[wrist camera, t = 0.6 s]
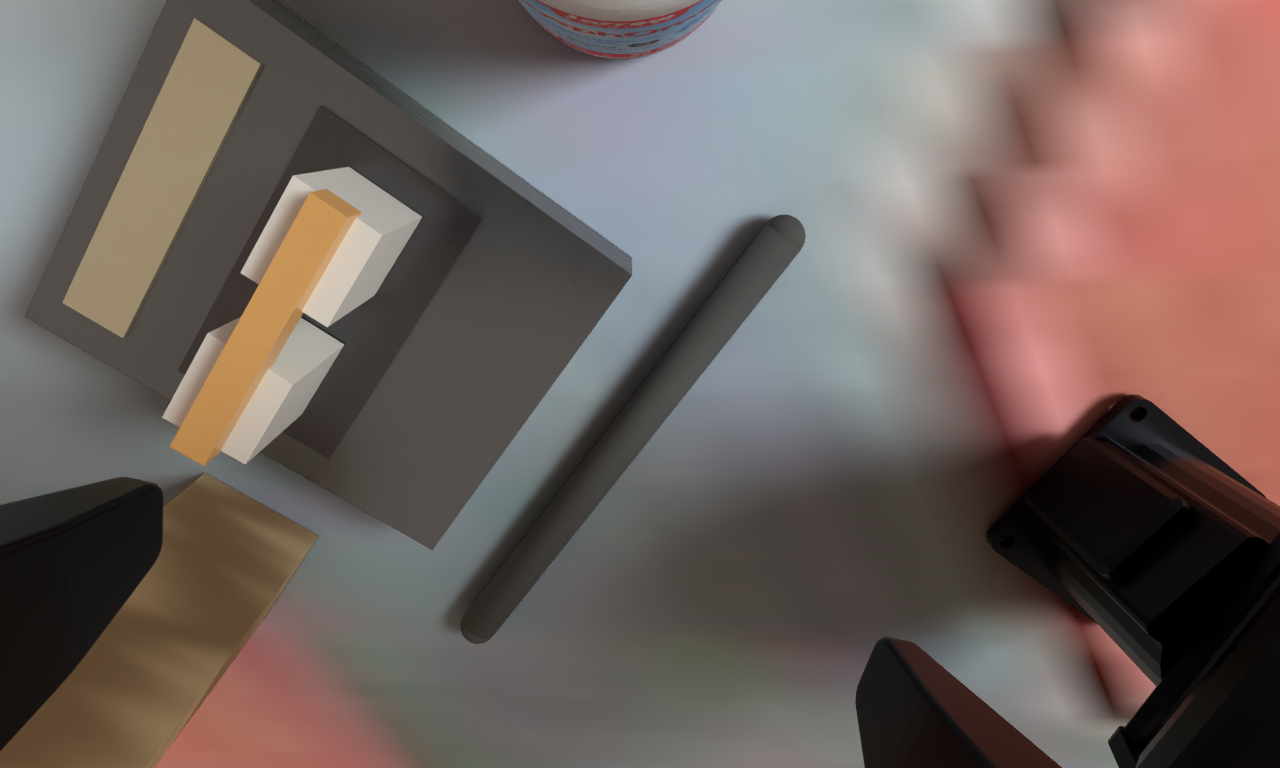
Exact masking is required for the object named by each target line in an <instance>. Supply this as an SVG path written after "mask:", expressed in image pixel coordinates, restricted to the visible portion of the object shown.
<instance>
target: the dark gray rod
mask: <svg viewBox="0 0 1280 768" xmlns="http://www.w3.org/2000/svg"><path fill="white" fill-rule="evenodd" d="M804 242H805V230H804V227H803V225H802V224H801V222H800V221H799V220H798V219H796V218H794V217H792V216H790V215H779V216H776V217H774V218H772V219H771V220H769V221H768V222H767V223H766V224H765V226H764V227H763V228H762V230H761V231H760V232H759V234H758V235H757V236H756V237H755V239H754V240H753V241H752V243H751V244H750V245H749V247H748V248H747V249H746V250H745V252H744V253H743V254H742V256H741V257H740V258H739V259H738V261H737V262H736V263H735V265H734V266H733V267H732V269H731V270H730V271H729V272H728V274H727V275H726V276H725V278H724V279H723V280H722V281H721V283H720V284H719V285H718V287H717V288H716V289H715V291H714V292H713V293H712V294H711V296H710V297H709V298H708V300H707V301H706V302H705V304H704V305H703V306H702V307H701V309H700V310H699V311H698V313H697V314H696V315H695V316H694V318H693V319H692V320H691V322H690V323H689V324H688V326H687V327H686V328H685V329H684V331H683V332H682V333H681V335H680V336H679V337H678V339H677V340H676V341H675V342H674V344H673V345H672V346H671V348H670V349H669V350H668V351H667V353H666V354H665V355H664V357H663V358H662V359H661V361H660V362H659V363H658V364H657V366H656V367H655V368H654V370H653V371H652V372H651V374H650V375H649V376H648V377H647V379H646V380H645V381H644V383H643V384H642V385H641V386H640V388H639V389H638V390H637V392H636V393H635V394H634V396H633V397H632V398H631V399H630V401H629V402H628V403H627V405H626V406H625V407H624V409H623V410H622V411H621V412H620V414H619V415H618V416H617V418H616V419H615V420H614V421H613V423H612V424H611V425H610V427H609V428H608V429H607V431H606V432H605V433H604V434H603V436H602V437H601V438H600V440H599V441H598V442H597V443H596V445H595V446H594V447H593V449H592V450H591V451H590V453H589V454H588V455H587V456H586V458H585V459H584V460H583V462H582V463H581V464H580V466H579V467H578V468H577V469H576V471H575V472H574V473H573V475H572V476H571V477H570V478H569V480H568V481H567V482H566V484H565V485H564V486H563V488H562V489H561V490H560V491H559V493H558V494H557V495H556V497H555V498H554V499H553V501H552V502H551V503H550V504H549V506H548V507H547V508H546V510H545V511H544V512H543V513H542V515H541V516H540V517H539V519H538V520H537V521H536V523H535V524H534V525H533V526H532V528H531V529H530V530H529V532H528V533H527V534H526V536H525V537H524V538H523V539H522V541H521V542H520V543H519V545H518V546H517V547H516V548H515V550H514V551H513V552H512V554H511V555H510V556H509V558H508V559H507V560H506V561H505V563H504V564H503V565H502V567H501V568H500V569H499V570H498V572H497V573H496V574H495V576H494V577H493V578H492V580H491V581H490V582H489V583H488V585H487V586H486V587H485V589H484V590H483V591H482V593H481V594H480V595H479V596H478V598H477V599H476V600H475V602H474V603H473V604H472V605H471V607H470V608H469V609H468V611H467V612H466V613H465V615H464V616H463V618H462V621H461V631H462V634H463V636H464V637H465V638H466V639H467V640H468V641H469V642H471V643H475V644H480V643H484V642H486V641H488V640H489V639H490V638H491V637H492V636H493V635H494V634H495V633H496V631H497V630H498V629H499V628H500V626H501V625H502V624H503V623H504V621H505V620H506V619H507V618H508V616H509V615H510V614H511V613H512V611H513V610H514V609H515V608H516V606H517V605H518V604H519V603H520V601H521V600H522V599H523V598H524V596H525V595H526V594H527V593H528V591H529V590H530V589H531V588H532V586H533V585H534V584H535V583H536V581H537V580H538V579H539V577H540V576H541V575H542V574H543V572H544V571H545V570H546V569H547V567H548V566H549V565H550V564H551V562H552V561H553V560H554V559H555V557H556V556H557V555H558V554H559V552H560V551H561V550H562V549H563V547H564V546H565V545H566V544H567V542H568V541H569V540H570V539H571V537H572V536H573V535H574V534H575V532H576V531H577V530H578V529H579V527H580V526H581V525H582V524H583V522H584V521H585V520H586V519H587V517H588V516H589V515H590V514H591V512H592V511H593V510H594V509H595V507H596V506H597V505H598V503H599V502H600V501H601V500H602V498H603V497H604V496H605V495H606V493H607V492H608V491H609V490H610V488H611V487H612V486H613V485H614V483H615V482H616V481H617V480H618V478H619V477H620V476H621V475H622V473H623V472H624V471H625V470H626V468H627V467H628V466H629V465H630V463H631V462H632V461H633V460H634V458H635V457H636V456H637V455H638V453H639V452H640V451H641V450H642V448H643V447H644V446H645V445H646V443H647V442H648V441H649V440H650V438H651V437H652V436H653V434H654V433H655V432H656V431H657V429H658V428H659V427H660V426H661V424H662V423H663V422H664V421H665V419H666V418H667V417H668V416H669V414H670V413H671V412H672V411H673V409H674V408H675V407H676V406H677V404H678V403H679V402H680V401H681V399H682V398H683V397H684V396H685V394H686V393H687V392H688V391H689V389H690V388H691V387H692V386H693V384H694V383H695V382H696V381H697V379H698V378H699V377H700V376H701V374H702V373H703V372H704V371H705V369H706V368H707V367H708V366H709V364H710V363H711V362H712V360H713V359H714V358H715V357H716V355H717V354H718V353H719V352H720V350H721V349H722V348H723V347H724V345H725V344H726V343H727V342H728V340H729V339H730V338H731V337H732V335H733V334H734V333H735V332H736V330H737V329H738V328H739V327H740V325H741V324H742V323H743V322H744V320H745V319H746V318H747V317H748V315H749V314H750V313H751V312H752V310H753V309H754V308H755V307H756V305H757V304H758V303H759V302H760V300H761V299H762V298H763V297H764V295H765V294H766V293H767V291H768V290H769V289H770V288H771V286H772V285H773V284H774V283H775V281H776V280H777V279H778V278H779V276H780V275H781V274H782V273H783V271H784V270H785V269H786V268H787V266H788V265H789V264H790V263H791V261H792V260H793V259H794V258H795V256H796V255H797V254H798V253H799V251H800V250H801V248H802V247H803V245H804Z"/></svg>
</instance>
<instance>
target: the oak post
mask: <svg viewBox="0 0 1280 768" xmlns="http://www.w3.org/2000/svg"><path fill="white" fill-rule="evenodd" d="M318 537H319V536H318V535H317V534H315V533H313V532H311V531H309V530H308V529H306V528H304V527H302V526H300V525H299V524H297V523H295V522H293V521H291V520H290V519H288V518H286V517H284V516H282V515H281V514H279V513H277V512H275V511H273V510H272V509H270V508H268V507H266V506H264V505H263V504H261V503H259V502H257V501H255V500H254V499H252V498H250V497H248V496H246V495H245V494H243V493H241V492H239V491H237V490H236V489H234V488H232V487H230V486H228V485H227V484H225V483H223V482H221V481H219V480H218V479H216V478H214V477H212V476H210V475H209V474H207V473H204V474H203V475H202V476H200V477H199V478H198V479H197V480H196V481H194V482H193V483H192V484H191V485H190V486H188V487H187V488H186V489H185V490H184V491H182V492H181V493H180V494H179V495H177V496H176V497H175V498H174V499H173V500H171V501H170V502H169V503H168V504H167V505H165V506H164V507H163V543H162V548H161V552H160V554H159V557H158V559H157V561H156V562H155V564H154V565H153V567H152V568H151V569H150V571H149V572H148V573H147V575H146V576H145V577H144V579H143V580H142V581H141V583H140V584H139V585H138V587H137V588H136V589H135V591H134V592H133V593H132V595H131V596H130V597H129V599H128V600H127V601H126V603H125V604H124V605H123V607H122V608H121V609H120V611H119V612H118V613H117V615H116V616H115V617H114V619H113V620H112V621H111V623H110V624H109V625H108V627H107V628H106V629H105V631H104V632H103V633H102V635H101V636H100V637H99V639H98V640H97V641H96V643H95V644H94V645H93V647H92V648H91V649H90V651H89V652H88V653H87V655H86V656H85V657H84V658H83V660H82V661H81V662H80V663H79V665H78V666H77V667H76V668H75V670H74V671H73V672H72V673H71V674H70V675H69V677H68V678H67V679H66V680H65V681H64V682H63V683H62V685H61V686H60V687H59V688H58V689H57V690H56V691H55V693H54V694H53V695H52V696H51V697H50V698H49V699H48V700H47V701H46V702H45V703H44V705H43V706H42V707H41V708H40V709H39V710H38V711H37V712H36V713H35V714H34V715H33V717H32V718H31V719H30V720H29V721H28V722H27V723H26V724H25V725H24V726H23V727H22V729H21V730H20V731H19V732H18V733H17V734H16V735H15V736H14V737H13V738H12V739H11V741H10V742H9V743H8V744H7V745H6V746H5V747H4V748H3V749H2V750H1V752H0V768H155V766H156V765H157V764H158V762H159V761H160V760H161V758H162V757H163V756H164V754H165V753H166V751H167V750H168V749H169V747H170V746H171V745H172V743H173V742H174V741H175V739H176V738H177V736H178V735H179V734H180V732H181V731H182V730H183V728H184V727H185V726H186V724H187V723H188V722H189V720H190V719H191V717H192V716H193V715H194V713H195V712H196V711H197V709H198V708H199V707H200V705H201V704H202V702H203V701H204V700H205V698H206V697H207V696H208V694H209V693H210V692H211V690H212V689H213V688H214V686H215V685H216V683H217V682H218V681H219V679H220V678H221V677H222V675H223V674H224V673H225V671H226V670H227V669H228V667H229V666H230V664H231V663H232V662H233V660H234V659H235V658H236V656H237V655H238V654H239V652H240V651H241V649H242V648H243V647H244V645H245V644H246V643H247V641H248V640H249V639H250V637H251V636H252V635H253V633H254V632H255V630H256V629H257V628H258V626H259V625H260V624H261V622H262V621H263V620H264V618H265V617H266V615H267V614H268V612H269V611H270V609H271V608H272V606H273V605H274V603H275V602H276V600H277V599H278V597H279V596H280V594H281V593H282V591H283V590H284V588H285V586H286V585H287V583H288V582H289V580H290V579H291V577H292V576H293V574H294V573H295V571H296V570H297V568H298V567H299V565H300V564H301V562H302V561H303V559H304V558H305V556H306V555H307V553H308V552H309V550H310V549H311V547H312V546H313V544H314V543H315V541H316V540H317V538H318Z"/></svg>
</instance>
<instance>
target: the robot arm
mask: <svg viewBox="0 0 1280 768" xmlns="http://www.w3.org/2000/svg"><path fill="white" fill-rule="evenodd" d="M1136 407H1138V411H1137V412H1136V414H1135V415H1133V416H1131V417H1130V413H1131V412H1132V410H1133V409H1135V408H1136ZM1008 534H1009V536H1008V537H1007V539H1005V540H1004V541H1000V539H1001V538H1002V537H1003V536H1004V535H1008ZM986 538H987V542H988V543H989V544H990V545H991V546H992V548H993V549H994V550H995V551H996V552H997V553H998V554H1000V555H1001V556H1003V557H1004V558H1006V559H1007V560H1008V561H1010V562H1011V563H1013V564H1014V565H1015V566H1017V567H1018V568H1020V569H1021V570H1022V571H1024V572H1025V573H1027V574H1028V575H1030V576H1031V577H1032V578H1034V579H1035V580H1037V581H1038V582H1039V583H1041V584H1042V585H1044V586H1045V587H1046V588H1048V589H1049V590H1051V591H1052V592H1054V593H1055V594H1056V595H1058V596H1059V597H1061V598H1062V599H1063V600H1065V601H1066V602H1068V603H1069V604H1070V605H1072V606H1073V607H1075V608H1076V609H1078V610H1079V611H1080V612H1082V613H1083V614H1085V615H1086V616H1087V617H1089V618H1090V619H1092V620H1093V621H1094V622H1096V623H1097V624H1098V625H1099V626H1100V627H1101V628H1102V629H1103V630H1104V631H1105V632H1106V633H1107V634H1108V635H1109V636H1110V637H1111V638H1112V639H1113V641H1114V642H1115V643H1116V644H1117V645H1118V646H1119V647H1120V648H1121V649H1122V650H1123V651H1124V652H1125V653H1126V654H1127V656H1128V657H1129V658H1130V659H1131V660H1132V661H1133V662H1134V663H1135V664H1136V665H1137V666H1138V667H1139V668H1140V669H1141V671H1142V672H1143V673H1144V674H1145V675H1146V676H1147V677H1148V678H1149V679H1150V680H1151V681H1152V682H1153V683H1154V684H1155V686H1156V688H1155V689H1154V691H1153V692H1152V693H1151V694H1150V696H1149V697H1148V698H1147V699H1146V701H1145V702H1144V703H1143V704H1142V706H1141V707H1140V708H1139V709H1138V711H1137V712H1136V713H1135V715H1134V716H1133V717H1132V718H1131V720H1130V721H1129V722H1128V723H1127V725H1126V726H1125V727H1123V726H1120V727H1118V729H1117V730H1116V731H1115V732H1114V734H1113V735H1112V736H1111V738H1110V739H1109V740H1108V744H1109V746H1110V748H1111V751H1112V753H1113V755H1114V757H1115V760H1116V762H1117V764H1118V766H1119V768H1280V506H1278V505H1277V504H1275V503H1273V502H1271V501H1270V500H1268V499H1267V498H1266V497H1265V496H1264V495H1263V494H1262V493H1261V492H1260V491H1258V490H1257V489H1256V488H1255V487H1254V486H1252V485H1251V484H1250V483H1249V482H1248V481H1246V480H1245V479H1244V478H1243V477H1241V476H1240V475H1239V474H1238V473H1237V472H1235V471H1234V470H1233V469H1232V468H1231V467H1229V466H1228V465H1227V464H1226V463H1225V462H1223V461H1222V460H1221V459H1220V458H1218V457H1217V456H1216V455H1215V454H1214V453H1212V452H1211V451H1210V450H1209V449H1208V448H1206V447H1205V446H1204V445H1203V444H1202V443H1200V442H1199V441H1198V440H1197V439H1195V438H1194V437H1193V436H1192V435H1191V434H1189V433H1188V432H1187V431H1186V430H1185V429H1183V428H1182V427H1181V426H1180V425H1179V424H1177V423H1176V422H1175V421H1174V420H1172V419H1171V418H1170V417H1169V416H1168V415H1166V414H1165V413H1164V412H1163V411H1162V410H1160V409H1159V408H1158V407H1157V406H1156V405H1154V404H1153V403H1152V402H1150V401H1148V400H1147V399H1145V398H1143V397H1141V396H1139V395H1128V396H1125V397H1124V398H1122V399H1121V400H1119V401H1118V402H1117V403H1116V404H1115V405H1114V406H1113V407H1112V408H1111V409H1110V410H1109V411H1108V412H1107V413H1106V414H1105V415H1104V416H1103V417H1102V418H1101V419H1100V420H1099V421H1098V422H1097V423H1096V424H1095V425H1094V426H1093V427H1092V428H1091V429H1090V430H1089V431H1088V432H1087V433H1086V434H1085V435H1084V436H1083V437H1082V438H1081V439H1080V440H1079V441H1078V442H1077V443H1076V444H1075V445H1074V446H1073V447H1071V448H1070V449H1069V450H1068V451H1067V452H1066V453H1065V454H1064V455H1063V456H1062V457H1061V458H1060V459H1059V460H1058V461H1057V462H1056V463H1055V464H1054V465H1053V466H1052V467H1051V468H1050V469H1049V470H1048V471H1047V472H1046V473H1045V474H1044V475H1043V476H1042V477H1041V478H1040V479H1039V480H1038V481H1037V482H1036V483H1035V484H1034V485H1033V486H1032V487H1031V488H1030V489H1029V490H1028V491H1027V492H1026V493H1025V494H1024V495H1023V496H1022V497H1021V498H1020V499H1019V500H1018V501H1017V502H1016V503H1015V504H1013V505H1012V506H1011V507H1010V508H1009V509H1008V510H1007V511H1006V512H1005V513H1004V514H1003V515H1002V516H1001V517H1000V518H999V519H998V520H997V521H996V522H995V523H994V524H993V525H992V526H991V527H990V529H989V530H988V531H987V535H986ZM162 543H163V492H162V489H161V488H160V487H159V486H158V485H157V484H155V483H152V482H147V481H142V480H137V479H133V478H128V477H119V478H114V479H110V480H106V481H102V482H97V483H93V484H89V485H84V486H80V487H76V488H71V489H67V490H63V491H59V492H54V493H50V494H46V495H41V496H37V497H33V498H28V499H24V500H20V501H16V502H11V503H7V504H3V505H0V752H1V750H2V749H3V748H4V747H5V746H6V745H7V744H8V743H9V742H10V741H11V739H12V738H13V737H14V736H15V735H16V734H17V733H18V732H19V731H20V730H21V729H22V727H23V726H24V725H25V724H26V723H27V722H28V721H29V720H30V719H31V718H32V717H33V715H34V714H35V713H36V712H37V711H38V710H39V709H40V708H41V707H42V706H43V705H44V703H45V702H46V701H47V700H48V699H49V698H50V697H51V696H52V695H53V694H54V693H55V691H56V690H57V689H58V688H59V687H60V686H61V685H62V683H63V682H64V681H65V680H66V679H67V678H68V677H69V675H70V674H71V673H72V672H73V671H74V670H75V668H76V667H77V666H78V665H79V663H80V662H81V661H82V660H83V658H84V657H85V656H86V655H87V653H88V652H89V651H90V649H91V648H92V647H93V645H94V644H95V643H96V641H97V640H98V639H99V637H100V636H101V635H102V633H103V632H104V631H105V629H106V628H107V627H108V625H109V624H110V623H111V621H112V620H113V619H114V617H115V616H116V615H117V613H118V612H119V611H120V609H121V608H122V607H123V605H124V604H125V603H126V601H127V600H128V599H129V597H130V596H131V595H132V593H133V592H134V591H135V589H136V588H137V587H138V585H139V584H140V583H141V581H142V580H143V579H144V577H145V576H146V575H147V573H148V572H149V571H150V569H151V568H152V567H153V565H154V564H155V562H156V561H157V559H158V557H159V554H160V552H161V548H162ZM856 711H857V718H858V724H859V731H860V738H861V745H862V752H863V758H864V765H865V768H1062V767H1061V766H1059V765H1058V764H1057V763H1056V762H1055V761H1053V760H1052V759H1051V758H1050V757H1049V756H1047V755H1046V754H1045V753H1044V752H1043V751H1042V750H1040V749H1039V748H1038V747H1037V746H1036V745H1034V744H1033V743H1032V742H1031V741H1030V740H1029V739H1027V738H1026V737H1025V736H1024V735H1023V734H1021V733H1020V732H1019V731H1018V730H1017V729H1016V728H1014V727H1013V726H1012V725H1011V724H1010V723H1008V722H1007V721H1006V720H1005V719H1004V718H1002V717H1001V716H1000V715H999V714H998V713H997V712H995V711H994V710H993V709H992V708H991V707H989V706H988V705H987V704H986V703H985V702H984V701H982V700H981V699H980V698H979V697H978V696H976V695H975V694H974V693H973V692H972V691H970V690H969V689H968V688H967V687H966V686H965V685H963V684H962V683H961V682H960V681H959V680H957V679H956V678H955V677H954V676H953V675H952V674H950V673H949V672H948V671H947V670H946V669H944V668H943V667H942V666H941V665H940V664H939V663H937V662H936V661H935V660H934V659H933V658H931V657H930V656H929V655H928V654H927V653H925V652H924V651H923V650H922V649H921V648H920V647H918V646H917V645H916V644H914V643H912V642H909V641H904V640H899V639H894V638H889V637H884V638H881V639H880V640H879V641H878V642H877V643H876V645H875V647H874V649H873V651H872V654H871V656H870V658H869V661H868V663H867V665H866V668H865V670H864V672H863V675H862V677H861V679H860V682H859V684H858V687H857V691H856Z"/></svg>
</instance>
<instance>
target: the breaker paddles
mask: <svg viewBox="0 0 1280 768" xmlns="http://www.w3.org/2000/svg"><path fill="white" fill-rule="evenodd" d="M421 219H422V216H420V215H419V214H417V213H416V212H414V211H413V210H411V209H410V208H409V207H407V206H406V205H404V204H403V203H401V202H400V201H398V200H397V199H395V198H394V197H392V196H391V195H390V194H388V193H387V192H385V191H384V190H382V189H381V188H379V187H378V186H376V185H375V184H373V183H372V182H371V181H369V180H368V179H366V178H365V177H363V176H362V175H360V174H359V173H357V172H356V171H354V170H353V169H352V168H350V167H344V168H337V169H331V170H325V171H318V172H312V173H306V174H299V175H293V176H292V178H291V180H290V182H289V184H288V186H287V187H286V189H285V191H284V193H283V195H282V197H281V199H280V200H279V202H278V204H277V206H276V208H275V210H274V211H273V213H272V215H271V217H270V219H269V221H268V223H267V224H266V226H265V228H264V230H263V232H262V234H261V235H260V237H259V239H258V241H257V243H256V245H255V247H254V248H253V250H252V252H251V254H250V256H249V258H248V259H247V261H246V263H245V265H244V267H243V269H242V271H241V272H240V273H241V274H243V275H244V276H246V277H248V278H249V279H251V280H252V281H254V282H256V283H257V284H259V286H258V287H257V289H256V291H255V293H254V295H253V296H252V298H251V300H250V302H249V304H248V305H247V307H246V309H245V311H244V313H243V314H242V316H241V317H239V318H237V319H235V320H233V321H231V322H229V323H227V324H225V325H223V326H221V327H219V328H217V329H215V330H213V331H211V332H209V333H207V335H206V337H205V339H204V341H203V343H202V344H201V346H200V348H199V350H198V352H197V354H196V356H195V357H194V359H193V361H192V363H191V365H190V367H189V368H188V370H187V372H186V374H185V376H184V378H183V380H182V381H181V383H180V385H179V387H178V389H177V391H176V392H175V394H174V396H173V398H172V400H171V402H170V404H169V405H168V407H167V409H166V411H165V413H164V415H163V416H162V418H163V419H165V420H167V421H169V422H171V423H172V424H174V425H176V426H178V427H179V430H178V432H177V434H176V436H175V437H174V439H173V441H172V443H171V445H170V446H169V447H171V448H173V449H174V450H176V451H178V452H180V453H182V454H183V455H185V456H187V457H189V458H191V459H192V460H194V461H196V462H198V463H199V464H201V465H203V466H205V465H206V464H207V463H208V462H210V461H211V460H212V459H213V458H215V457H216V456H217V455H218V454H219V453H221V452H224V453H225V454H227V455H229V456H231V457H232V458H234V459H236V460H238V461H240V462H241V463H243V464H247V463H248V462H249V461H250V460H251V459H252V458H253V457H254V456H256V455H257V454H258V453H259V452H260V451H261V450H262V449H263V448H265V447H266V446H267V445H268V444H269V443H270V442H271V441H272V440H274V439H275V438H276V437H277V436H278V435H279V434H280V433H281V432H283V431H284V430H285V429H286V428H287V427H288V426H289V425H290V424H291V423H293V422H294V421H295V420H296V419H297V418H298V417H299V416H300V415H302V413H303V412H304V410H305V408H306V407H307V405H308V403H309V402H310V400H311V399H312V397H313V395H314V394H315V392H316V390H317V389H318V387H319V385H320V384H321V382H322V381H323V379H324V377H325V376H326V374H327V372H328V371H329V369H330V367H331V366H332V364H333V363H334V361H335V359H336V358H337V356H338V354H339V353H340V351H341V349H342V348H343V346H344V344H343V343H341V342H339V341H338V340H336V339H335V338H333V337H331V336H330V335H328V334H327V333H325V332H323V331H322V330H320V329H319V328H317V327H315V326H314V325H312V324H311V323H309V322H307V321H306V320H304V319H303V318H301V316H302V315H303V313H305V314H307V315H308V316H310V317H311V318H313V319H315V320H316V321H318V322H319V323H321V324H323V325H324V326H326V327H329V326H330V325H332V324H333V323H335V322H336V321H337V320H339V319H340V318H342V317H343V316H345V315H346V314H348V313H349V312H351V311H352V310H354V309H355V308H357V307H358V306H360V305H361V304H363V303H364V302H366V301H367V300H368V299H370V298H371V297H373V296H374V295H375V294H376V292H377V291H378V289H379V287H380V286H381V284H382V282H383V281H384V279H385V277H386V276H387V274H388V273H389V271H390V269H391V268H392V266H393V264H394V263H395V261H396V259H397V258H398V256H399V255H400V253H401V251H402V250H403V248H404V246H405V245H406V243H407V241H408V240H409V238H410V237H411V235H412V233H413V232H414V230H415V228H416V227H417V225H418V223H419V222H420V220H421Z"/></svg>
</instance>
